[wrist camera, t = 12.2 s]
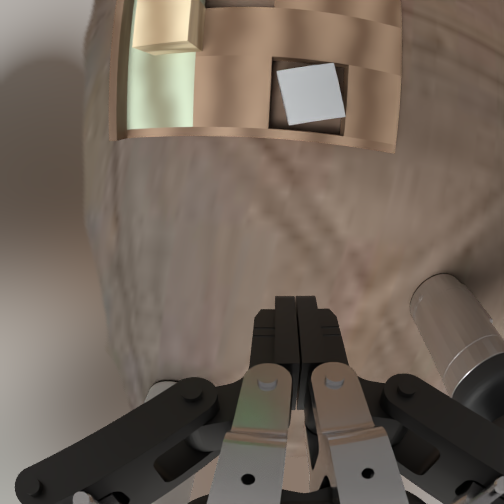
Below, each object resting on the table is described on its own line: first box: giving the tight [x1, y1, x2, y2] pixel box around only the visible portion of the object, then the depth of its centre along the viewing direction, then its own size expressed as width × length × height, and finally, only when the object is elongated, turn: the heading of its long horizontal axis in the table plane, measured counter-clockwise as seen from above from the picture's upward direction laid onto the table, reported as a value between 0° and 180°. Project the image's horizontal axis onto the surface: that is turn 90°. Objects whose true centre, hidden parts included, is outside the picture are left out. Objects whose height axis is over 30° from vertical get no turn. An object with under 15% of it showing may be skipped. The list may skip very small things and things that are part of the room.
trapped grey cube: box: [277, 63, 346, 125], centre depth 28 cm, size 6×6×6 cm
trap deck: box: [109, 0, 402, 154], centre depth 25 cm, size 31×24×5 cm
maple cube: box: [132, 0, 206, 55], centre depth 23 cm, size 6×6×6 cm
